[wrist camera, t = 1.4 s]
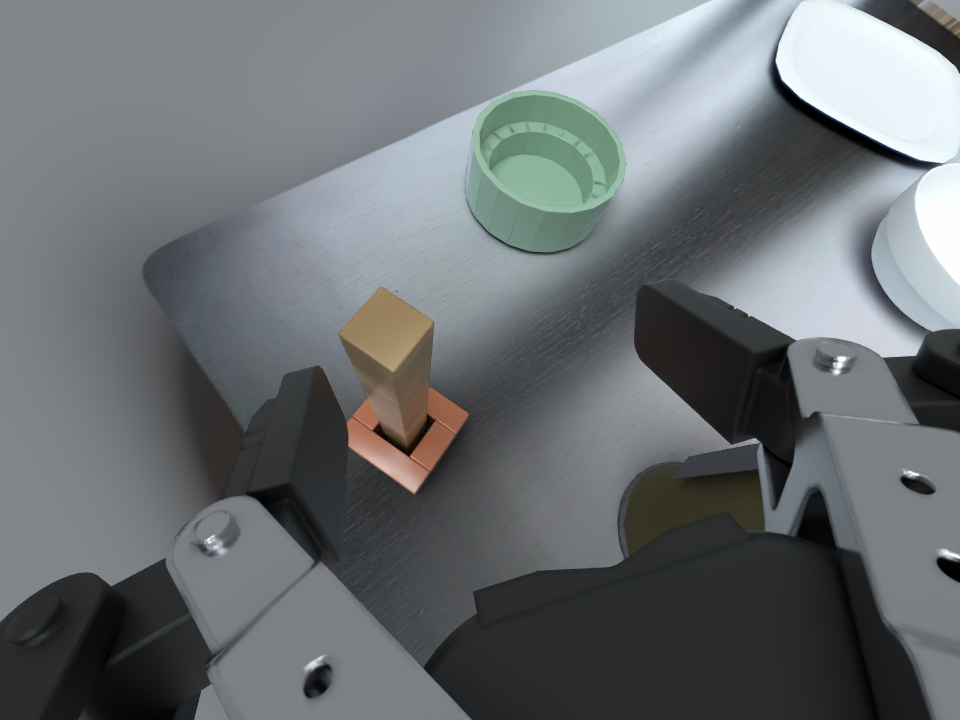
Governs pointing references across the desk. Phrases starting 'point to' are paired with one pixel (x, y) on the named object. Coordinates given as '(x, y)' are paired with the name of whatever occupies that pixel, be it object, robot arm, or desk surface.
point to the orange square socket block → (425, 457)
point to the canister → (692, 495)
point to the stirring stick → (393, 364)
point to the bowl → (923, 250)
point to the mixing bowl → (542, 170)
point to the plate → (872, 79)
